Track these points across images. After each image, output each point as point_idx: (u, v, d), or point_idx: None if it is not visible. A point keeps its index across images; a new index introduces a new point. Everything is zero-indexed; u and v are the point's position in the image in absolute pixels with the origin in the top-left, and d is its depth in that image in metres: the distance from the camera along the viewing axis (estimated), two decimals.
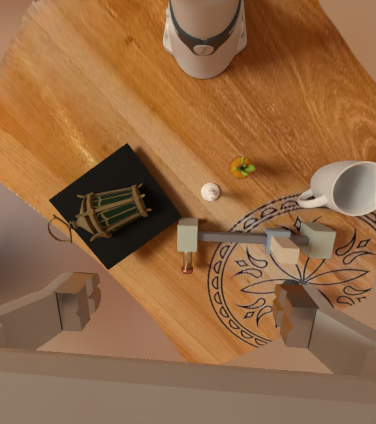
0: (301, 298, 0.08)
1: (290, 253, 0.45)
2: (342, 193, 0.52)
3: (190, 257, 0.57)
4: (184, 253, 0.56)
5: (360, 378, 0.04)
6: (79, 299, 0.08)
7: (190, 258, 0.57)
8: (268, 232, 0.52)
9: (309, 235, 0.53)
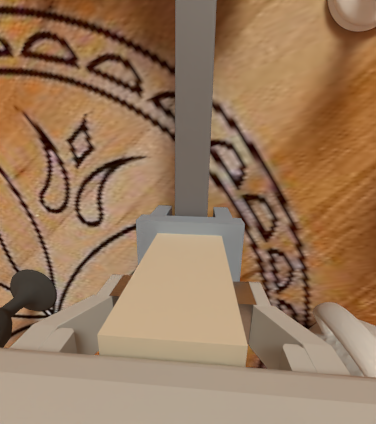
0: (242, 295, 0.08)
1: None
2: None
3: None
4: None
5: (360, 378, 0.04)
6: None
7: None
8: (231, 220, 0.12)
9: None
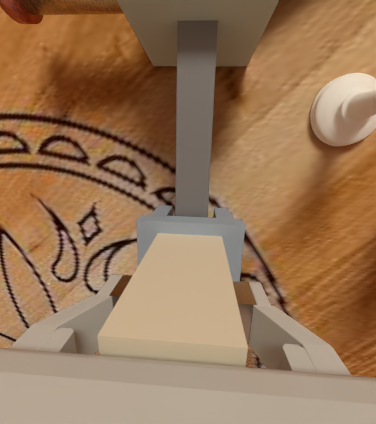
0: (242, 295, 0.08)
1: None
2: None
3: None
4: None
5: (360, 378, 0.04)
6: None
7: None
8: (232, 221, 0.12)
9: None
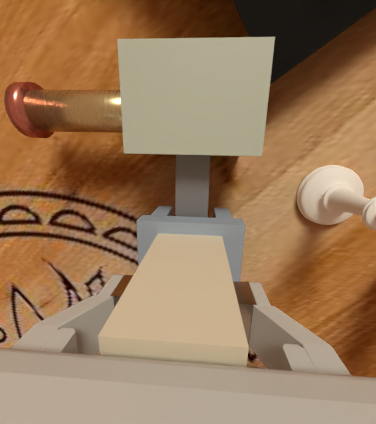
0: (242, 295, 0.08)
1: None
2: None
3: (90, 124, 0.13)
4: (106, 94, 0.12)
5: (360, 378, 0.04)
6: None
7: (86, 124, 0.13)
8: (232, 221, 0.12)
9: None
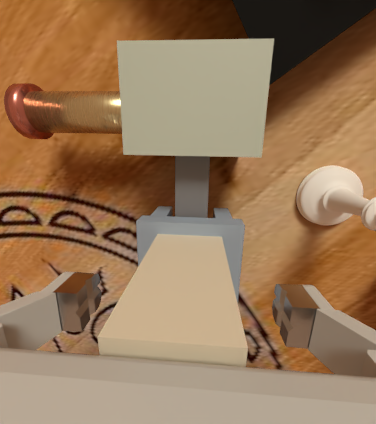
0: (301, 298, 0.08)
1: None
2: None
3: (90, 125, 0.13)
4: (105, 95, 0.12)
5: (360, 378, 0.04)
6: (79, 299, 0.08)
7: (85, 125, 0.13)
8: (232, 221, 0.12)
9: None
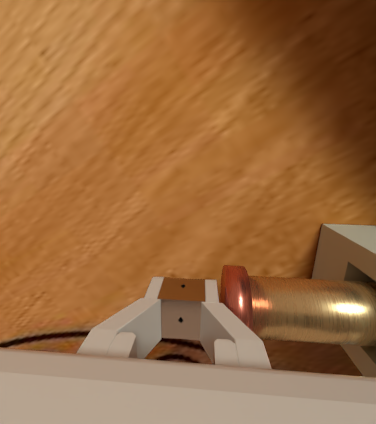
0: (194, 292, 0.08)
1: None
2: None
3: (343, 343, 0.08)
4: None
5: (360, 378, 0.04)
6: (182, 306, 0.08)
7: None
8: None
9: None
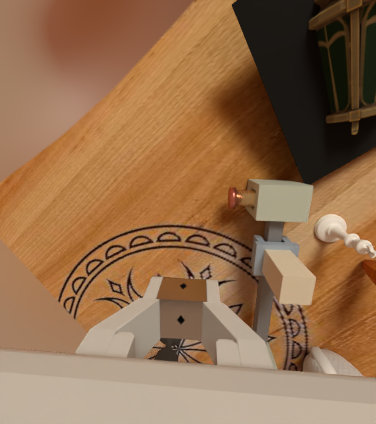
0: (195, 292, 0.08)
1: (302, 291, 0.24)
2: None
3: None
4: None
5: (360, 378, 0.04)
6: (181, 306, 0.08)
7: None
8: (293, 244, 0.31)
9: None
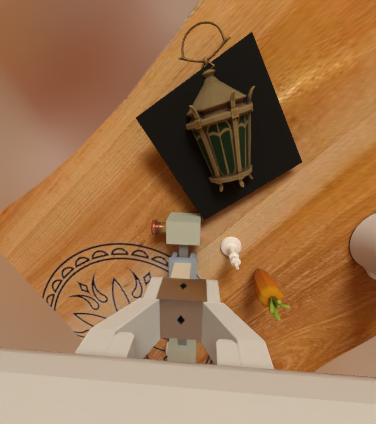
0: (195, 292, 0.08)
1: None
2: None
3: None
4: None
5: (360, 378, 0.04)
6: (181, 306, 0.08)
7: None
8: (194, 259, 0.45)
9: (188, 344, 0.53)
